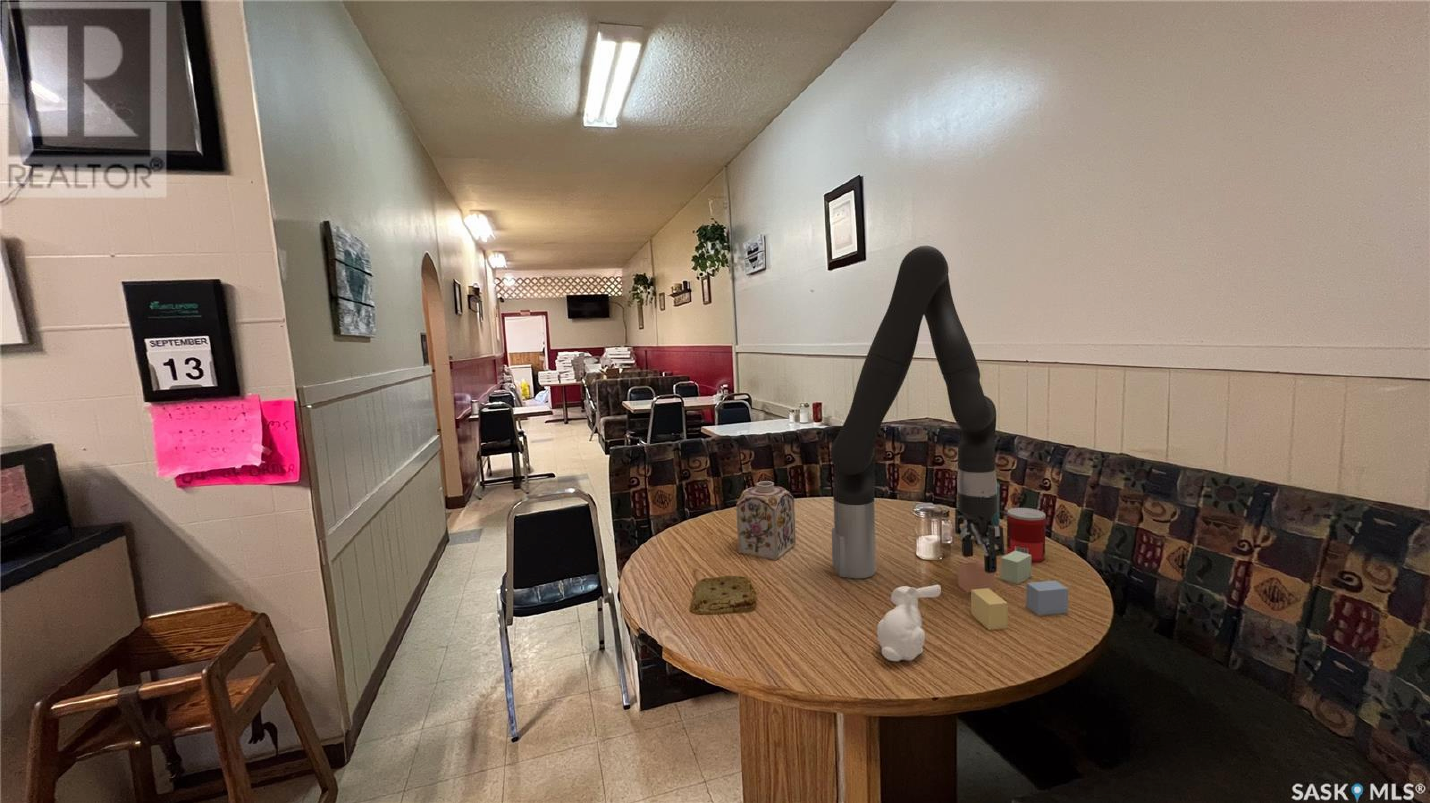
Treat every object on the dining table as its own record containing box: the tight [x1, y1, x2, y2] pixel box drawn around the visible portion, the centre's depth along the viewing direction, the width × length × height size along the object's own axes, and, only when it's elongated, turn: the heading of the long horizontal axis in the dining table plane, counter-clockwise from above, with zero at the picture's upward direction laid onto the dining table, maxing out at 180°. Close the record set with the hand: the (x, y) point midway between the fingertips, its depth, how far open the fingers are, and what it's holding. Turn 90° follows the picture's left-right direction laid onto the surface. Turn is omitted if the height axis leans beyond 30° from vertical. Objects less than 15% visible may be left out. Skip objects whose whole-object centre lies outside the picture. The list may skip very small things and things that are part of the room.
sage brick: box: [1000, 551, 1032, 585], centre depth 119 cm, size 6×4×5 cm, turn 124°
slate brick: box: [1025, 580, 1069, 617], centre depth 105 cm, size 6×4×5 cm, turn 94°
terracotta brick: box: [957, 561, 995, 594], centre depth 115 cm, size 6×4×5 cm, turn 94°
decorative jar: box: [735, 480, 797, 561], centre depth 141 cm, size 12×12×18 cm
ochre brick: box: [970, 588, 1009, 631], centre depth 102 cm, size 6×4×5 cm, turn 4°
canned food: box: [1006, 507, 1047, 564], centre depth 129 cm, size 8×8×11 cm
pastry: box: [689, 575, 758, 616], centre depth 116 cm, size 17×17×3 cm
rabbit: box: [876, 584, 942, 662], centre depth 93 cm, size 12×9×12 cm
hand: (978, 563), depth 115 cm, fingers open, 8 cm apart
